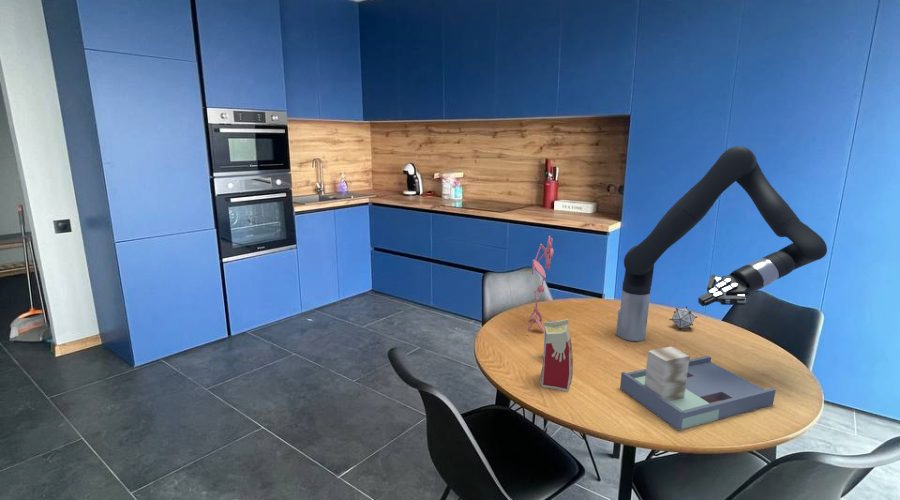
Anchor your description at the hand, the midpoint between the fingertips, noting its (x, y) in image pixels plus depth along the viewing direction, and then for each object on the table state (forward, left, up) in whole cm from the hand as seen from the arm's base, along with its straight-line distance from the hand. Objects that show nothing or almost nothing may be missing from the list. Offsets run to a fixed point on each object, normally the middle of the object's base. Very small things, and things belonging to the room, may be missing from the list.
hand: (700, 302), depth 131 cm
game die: (-12, +41, -25) cm, 49 cm away
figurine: (-52, +9, -25) cm, 58 cm away
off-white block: (-2, -19, -21) cm, 28 cm away
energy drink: (-38, -13, -25) cm, 47 cm away
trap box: (+3, -9, -24) cm, 26 cm away
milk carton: (-30, -26, -25) cm, 47 cm away
